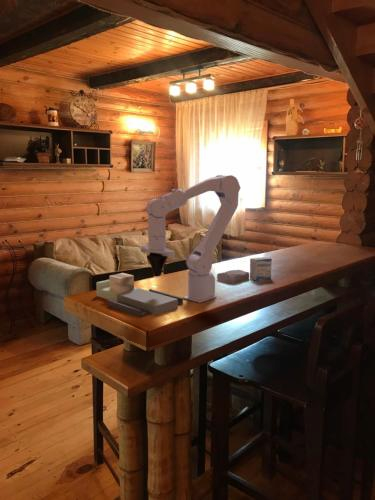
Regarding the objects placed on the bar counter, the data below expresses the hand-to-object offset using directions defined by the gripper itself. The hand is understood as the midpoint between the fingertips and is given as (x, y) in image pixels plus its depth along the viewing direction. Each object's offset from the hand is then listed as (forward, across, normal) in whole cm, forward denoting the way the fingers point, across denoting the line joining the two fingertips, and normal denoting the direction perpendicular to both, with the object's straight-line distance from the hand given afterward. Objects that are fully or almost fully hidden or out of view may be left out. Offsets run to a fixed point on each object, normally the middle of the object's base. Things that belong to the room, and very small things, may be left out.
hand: (157, 275), depth 145 cm
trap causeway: (+9, -6, -5) cm, 12 cm away
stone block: (+10, -1, +43) cm, 44 cm away
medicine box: (+10, +7, +52) cm, 53 cm away
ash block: (+6, -13, -5) cm, 15 cm away
